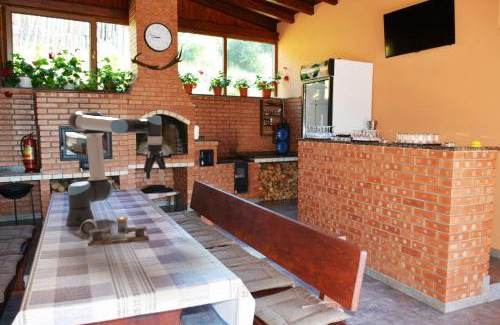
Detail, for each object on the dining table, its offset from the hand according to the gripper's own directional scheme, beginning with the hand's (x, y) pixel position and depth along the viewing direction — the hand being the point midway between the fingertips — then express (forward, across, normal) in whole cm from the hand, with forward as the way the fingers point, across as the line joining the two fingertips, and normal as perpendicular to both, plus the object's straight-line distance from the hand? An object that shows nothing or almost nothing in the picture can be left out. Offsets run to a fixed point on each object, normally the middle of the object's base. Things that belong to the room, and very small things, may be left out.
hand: (155, 182), depth 215 cm
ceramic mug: (+26, -21, +29) cm, 44 cm away
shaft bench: (+25, -25, +7) cm, 36 cm away
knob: (+26, -10, +14) cm, 31 cm away
